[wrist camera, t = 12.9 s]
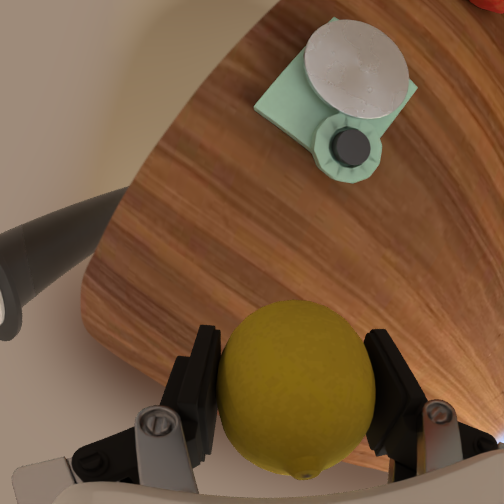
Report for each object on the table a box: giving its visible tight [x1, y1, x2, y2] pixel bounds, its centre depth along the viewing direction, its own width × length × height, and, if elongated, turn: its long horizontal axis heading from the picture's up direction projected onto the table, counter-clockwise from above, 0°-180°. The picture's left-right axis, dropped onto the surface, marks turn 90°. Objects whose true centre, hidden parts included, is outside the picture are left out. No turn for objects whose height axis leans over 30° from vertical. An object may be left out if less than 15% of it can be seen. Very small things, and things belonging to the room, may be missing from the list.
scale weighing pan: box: [303, 20, 409, 120], centre depth 18 cm, size 9×9×1 cm
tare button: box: [332, 129, 371, 165], centre depth 21 cm, size 3×3×2 cm
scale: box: [254, 17, 418, 183], centre depth 21 cm, size 13×11×4 cm
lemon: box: [216, 300, 376, 480], centre depth 10 cm, size 6×6×8 cm
